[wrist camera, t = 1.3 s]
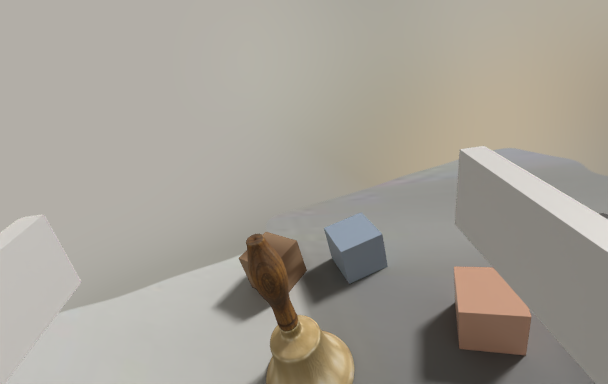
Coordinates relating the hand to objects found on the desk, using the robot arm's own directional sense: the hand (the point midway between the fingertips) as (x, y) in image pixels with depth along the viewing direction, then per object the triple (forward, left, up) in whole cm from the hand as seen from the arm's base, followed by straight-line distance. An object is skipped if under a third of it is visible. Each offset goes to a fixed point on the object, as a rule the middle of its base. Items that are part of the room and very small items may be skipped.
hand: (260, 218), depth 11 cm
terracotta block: (-17, -1, -24) cm, 29 cm away
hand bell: (-3, -10, -24) cm, 26 cm away
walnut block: (-8, -22, -24) cm, 33 cm away
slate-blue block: (-16, -16, -24) cm, 33 cm away
